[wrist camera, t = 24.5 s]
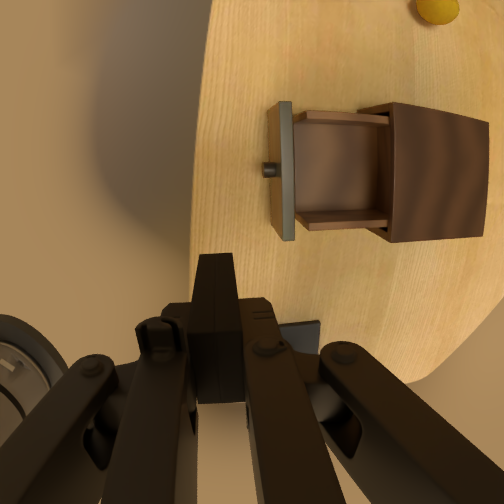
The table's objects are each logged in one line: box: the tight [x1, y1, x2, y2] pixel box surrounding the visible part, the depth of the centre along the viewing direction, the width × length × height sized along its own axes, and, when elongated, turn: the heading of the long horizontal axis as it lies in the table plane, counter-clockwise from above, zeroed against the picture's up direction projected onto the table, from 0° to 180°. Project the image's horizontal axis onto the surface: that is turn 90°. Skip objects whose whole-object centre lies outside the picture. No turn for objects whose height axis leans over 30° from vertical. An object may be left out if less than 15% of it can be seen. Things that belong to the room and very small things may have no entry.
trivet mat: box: [278, 320, 320, 355], centre depth 43 cm, size 13×9×1 cm
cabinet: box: [357, 102, 489, 243], centre depth 33 cm, size 15×14×9 cm
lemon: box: [416, 0, 459, 25], centre depth 26 cm, size 6×6×8 cm
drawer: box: [262, 101, 390, 241], centre depth 32 cm, size 15×13×7 cm
